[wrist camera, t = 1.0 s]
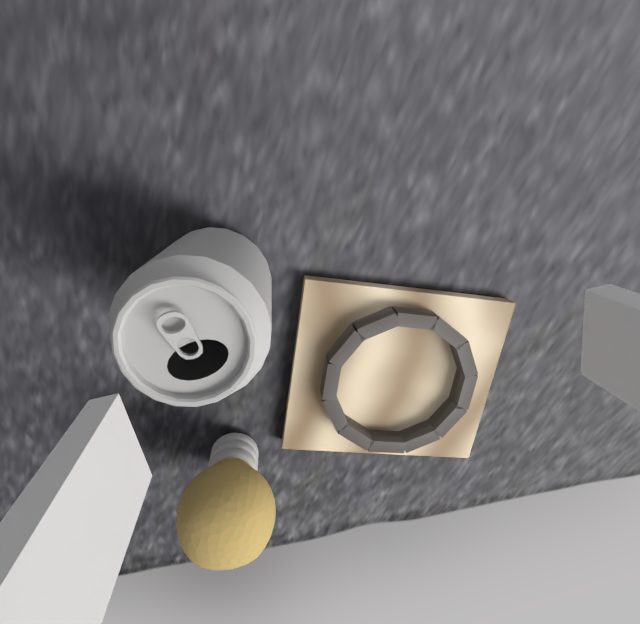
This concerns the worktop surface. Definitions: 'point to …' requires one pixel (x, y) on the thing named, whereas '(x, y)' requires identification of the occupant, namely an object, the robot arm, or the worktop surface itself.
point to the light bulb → (227, 507)
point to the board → (391, 368)
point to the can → (194, 319)
